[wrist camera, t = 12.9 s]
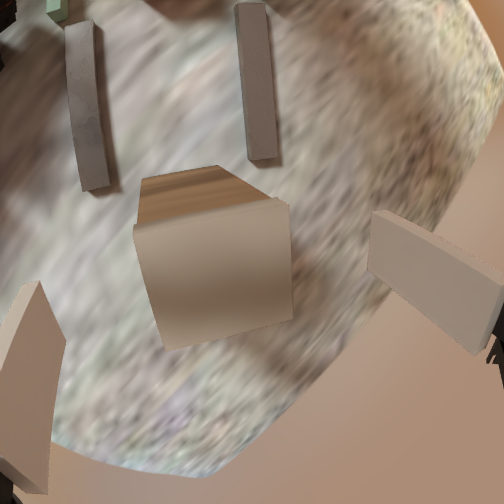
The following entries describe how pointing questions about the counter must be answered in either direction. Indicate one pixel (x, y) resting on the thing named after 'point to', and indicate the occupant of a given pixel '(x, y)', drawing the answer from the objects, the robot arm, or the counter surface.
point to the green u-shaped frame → (57, 10)
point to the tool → (6, 17)
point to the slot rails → (88, 104)
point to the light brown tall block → (212, 255)
